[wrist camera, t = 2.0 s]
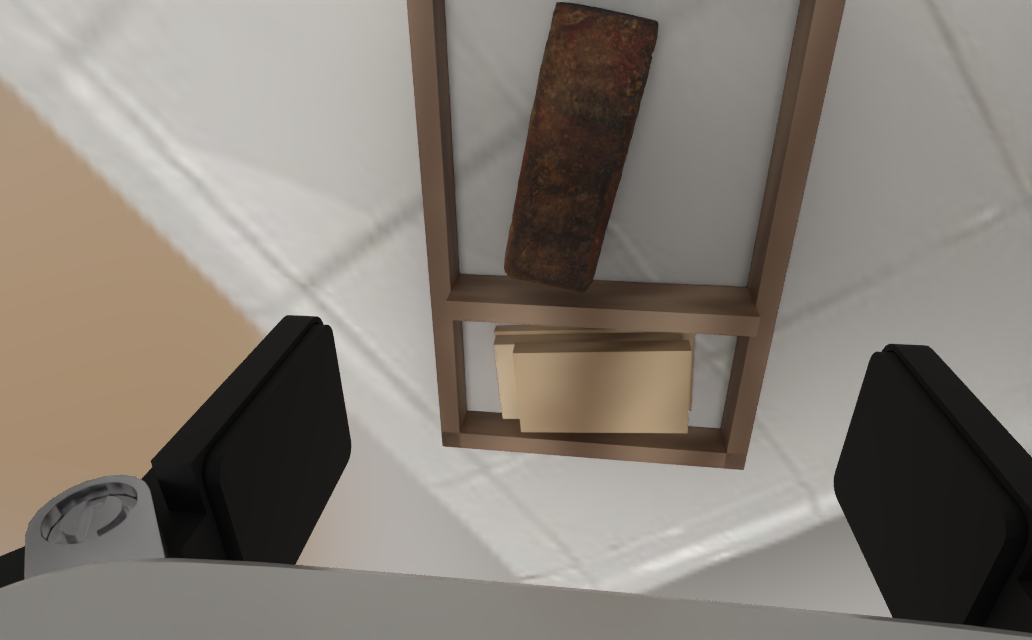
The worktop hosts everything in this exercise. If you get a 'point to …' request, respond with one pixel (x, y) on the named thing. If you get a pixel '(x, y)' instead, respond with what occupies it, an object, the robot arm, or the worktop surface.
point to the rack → (611, 300)
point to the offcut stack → (594, 379)
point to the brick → (577, 143)
